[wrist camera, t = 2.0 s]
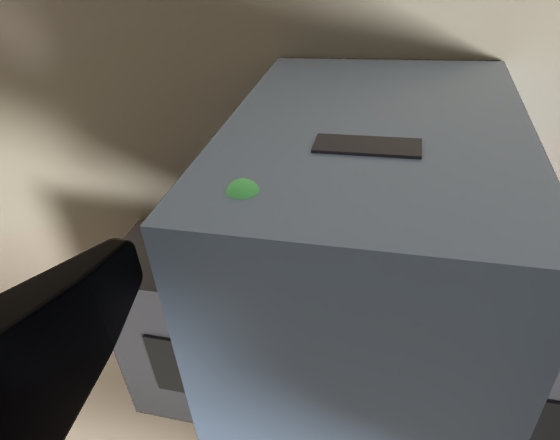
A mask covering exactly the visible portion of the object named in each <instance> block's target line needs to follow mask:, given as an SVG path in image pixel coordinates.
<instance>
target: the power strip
mask: <svg viewBox="0 0 560 440" xmlns="http://www.w3.org/2000/svg"><path fill="white" fill-rule="evenodd" d="M142 223H143V221H138V223H137V224H136V225H135V226H134V227H133V229H132V230H131V231H130V232H129V233H128V235H127V236H126V237H125V238H124V239H126V240H130V241H132V242H133V243H134V245H135V247H136V251H137V254H138V258H139V261H140V265H141V268H142V272H143V279H142V283H141V286H140V288H139V291H138V293H137V296H136V298H135V300H134V303H133V305H132V308H131V310H130V312H129V315H128V317H127V320H126V322H125V324H124V327H123V329H122V332H121V334H120V336H119V339H118V341H117V343H116V345H115V348H114V350H113V351H114V354H115V357H116V359H117V362H118V364H119V367H120V370H121V372H122V375H123V377H124V380H125V383H126V385H127V388H128V391H129V393H130V396H131V398H132V401H133V404H134V406H135V409H136V411H137V412H141V413H146V414H151V415H156V416H161V417H166V418H171V419H176V420H181V421H185V422H190V423H193V420H192V416H191V412H190V409H189V405H188V401H187V398H186V394H185V390H184V387H183V383H182V379H181V376H180V372H179V368H178V365H177V361H176V357H175V354H174V350H173V347H172V343H171V339H170V336H169V332H168V328H167V325H166V321H165V317H164V314H163V310H162V306H161V303H160V299H159V295H158V292H157V288H156V284H155V281H154V277H153V273H152V270H151V266H150V263H149V259H148V255H147V252H146V248H145V244H144V241H143V237H142V233H141V230H140V225H141V224H142ZM530 440H560V371H559V373H558V376H557V378H556V380H555V383H554V385H553V387H552V389H551V392H550V394H549V396H548V399H547V401H546V403H545V406H544V408H543V410H542V412H541V415H540V417H539V419H538V422H537V424H536V426H535V429H534V431H533V433H532V435H531V438H530Z"/></svg>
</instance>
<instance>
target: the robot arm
mask: <svg viewBox="0 0 560 440" xmlns="http://www.w3.org/2000/svg"><path fill="white" fill-rule="evenodd" d="M142 279H143V272H142V268H141V265H140V261H139V258H138V254H137V251H136V247H135V245H134V243H133V242H132V241H130V240H126V239H117V238H112V239H109V240H107V241H105V242H103V243H101V244H99V245H97V246H95V247H93V248H91V249H89V250H87V251H85V252H83V253H81V254H79V255H77V256H75V257H73V258H71V259H69V260H67V261H65V262H63V263H61V264H59V265H57V266H55V267H53V268H51V269H49V270H47V271H45V272H43V273H40V274H38V275H36V276H34V277H32V278H30V279H28V280H26V281H24V282H22V283H20V284H18V285H16V286H14V287H12V288H10V289H8V290H6V291H4V292H2V293H0V440H65V438H66V436H67V434H68V433H69V431H70V429H71V427H72V425H73V423H74V422H75V420H76V418H77V416H78V414H79V412H80V411H81V409H82V407H83V405H84V403H85V401H86V400H87V398H88V396H89V394H90V392H91V390H92V389H93V387H94V385H95V383H96V381H97V380H98V378H99V376H100V374H101V372H102V370H103V369H104V367H105V365H106V363H107V361H108V359H109V357H110V355H111V354H112V352H113V350H114V348H115V345H116V343H117V341H118V339H119V336H120V334H121V332H122V329H123V327H124V324H125V322H126V320H127V317H128V315H129V312H130V310H131V308H132V305H133V303H134V300H135V298H136V296H137V293H138V291H139V288H140V286H141V283H142Z"/></svg>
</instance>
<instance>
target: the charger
mask: <svg viewBox="0 0 560 440" xmlns="http://www.w3.org/2000/svg"><path fill="white" fill-rule="evenodd" d="M140 230H141V233H142V237H143V241H144V244H145V248H146V252H147V255H148V259H149V263H150V266H151V270H152V273H153V277H154V281H155V284H156V288H157V292H158V295H159V299H160V303H161V306H162V310H163V314H164V317H165V321H166V325H167V328H168V332H169V336H170V339H171V343H172V347H173V350H174V354H175V357H176V361H177V365H178V368H179V372H180V376H181V379H182V383H183V387H184V390H185V394H186V398H187V401H188V405H189V409H190V412H191V416H192V420H193V423H194V427H195V430H196V434H197V438H198V440H530V438H531V435H532V433H533V431H534V429H535V426H536V424H537V422H538V419H539V417H540V415H541V412H542V410H543V408H544V406H545V403H546V401H547V399H548V396H549V394H550V392H551V389H552V387H553V385H554V383H555V380H556V378H557V376H558V373H559V371H560V182H559V180H558V178H557V176H556V174H555V172H554V169H553V167H552V165H551V163H550V161H549V158H548V156H547V154H546V152H545V150H544V147H543V145H542V143H541V141H540V139H539V137H538V134H537V132H536V130H535V128H534V126H533V123H532V121H531V119H530V117H529V115H528V113H527V110H526V108H525V106H524V104H523V102H522V99H521V97H520V95H519V93H518V91H517V89H516V86H515V84H514V82H513V80H512V78H511V75H510V73H509V71H508V69H507V67H506V64H505V62H504V61H452V60H382V59H313V58H278V59H277V60H276V61H275V63H274V64H273V65H272V66H271V67H270V69H269V70H268V71H267V72H266V73H265V75H264V76H263V77H262V78H261V79H260V81H259V82H258V83H257V84H256V86H255V87H254V88H253V89H252V90H251V92H250V93H249V94H248V95H247V96H246V98H245V99H244V100H243V101H242V103H241V104H240V105H239V106H238V107H237V109H236V110H235V111H234V112H233V113H232V115H231V116H230V117H229V118H228V120H227V121H226V122H225V123H224V124H223V126H222V127H221V128H220V129H219V130H218V132H217V133H216V134H215V135H214V136H213V138H212V139H211V140H210V141H209V143H208V144H207V145H206V146H205V147H204V149H203V150H202V151H201V152H200V153H199V155H198V156H197V157H196V158H195V160H194V161H193V162H192V163H191V164H190V166H189V167H188V168H187V169H186V170H185V172H184V173H183V174H182V175H181V177H180V178H179V179H178V180H177V181H176V183H175V184H174V185H173V186H172V187H171V189H170V190H169V191H168V192H167V193H166V195H165V196H164V197H163V198H162V200H161V201H160V202H159V203H158V204H157V206H156V207H155V208H154V209H153V210H152V212H151V213H150V214H149V215H148V217H147V218H146V219H145V220H144V221H143V223H142V224H141V225H140Z"/></svg>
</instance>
